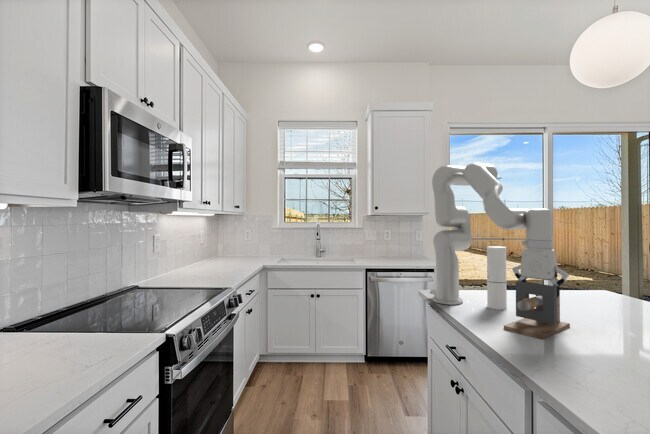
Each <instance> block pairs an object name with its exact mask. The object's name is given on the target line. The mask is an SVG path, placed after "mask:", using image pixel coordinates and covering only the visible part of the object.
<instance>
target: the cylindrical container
mask: <svg viewBox="0 0 650 434" xmlns="http://www.w3.org/2000/svg"><path fill="white" fill-rule="evenodd" d="M486 260H487V261H486V263H487V264H486V270H487V271H486V279H487V280H486V282H487V283H486V285H487V288H486V293H487V295H486V298H487V299H486V302H487V304H486V307H487V308H489V309H491V310H492V309H493V310H498V311H499V310H501V311H504V310H507V307H508V306H507V305H508V304H507V300H508V299H507V246H500V245H498V246H497V245H495V246H494V245H492V246H491V245H490V246H486Z"/></svg>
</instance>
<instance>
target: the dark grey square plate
mask: <svg viewBox="0 0 650 434" xmlns="http://www.w3.org/2000/svg"><path fill="white" fill-rule="evenodd" d="M530 295H534V296H536V295H538V296H542V310H541V309H536V307H535V308H534V309H532V310H526V311H521V310H519V309H518V307H517V303H518V302H519V301H522V300H523V299H525V298H530ZM515 317H518V318H519V317H520V318H521V319H524V318H527V319H531V320H535V321H540V322H544V323H549V324H553V325H555V324H557V286H553V285H548V284H543V283H535V282H530V281H529V282H528V281H527V282H522V281H519V280H517V281H515Z"/></svg>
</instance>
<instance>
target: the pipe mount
mask: <svg viewBox="0 0 650 434" xmlns="http://www.w3.org/2000/svg"><path fill="white" fill-rule="evenodd" d="M560 299H561V296H560V295H559V296H558V298H557V324H555V325H553V324H549V323H544V322H540V321H535V320H531V319H527V318H521V319H518V320H515V321H512V322H510V323H507V324H504V325H503V330H506V331H510V332H513V333H517V334H520V335H525V336H527V337H528V336H529V337H531V338H535V339H540V340H545V339H547V338H549V337H551V336H553V335H555V334H556V335H557V334H558V333H560V332H562V331H565V330H566V328H567V329H570V328H571V324H570V323H569V322H565V321H561V308H560V306H561V301H560ZM517 307H518V309H519V310H521V311H526V310H532V309H534V308H536V309H541V310H542V296H538V295H535V296H533V297H529V298H525V299H523V300H522V301H519V302H518V303H517ZM564 329H565V330H564Z"/></svg>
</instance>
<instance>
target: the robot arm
mask: <svg viewBox="0 0 650 434" xmlns="http://www.w3.org/2000/svg"><path fill="white" fill-rule="evenodd" d="M431 185H432V187H431V188H432V190H433V197H434V214H435V222H436V224H437V225H438V226H439V227H442V228H452V229H444V230H440V231H438V232H437V233H435V235H434V236H433V247H434V252H435V287H436V288H431V289H430V291H429V294H431V295H434V296H433V297H432V301H433V302H434V303H437V304H439V305H440V304H442V305H451V306H452V305H453V306H455V305H456V306H457V305H461V304H463V303H464V300H463V299H462V298H461V297H460V282H459V281H460V278H459V277H460V271H459V269H460V265H459V263H460V262H459V258H458V255H457V254H456V252H460V251H466V250H468V249H469V248H470V247H471V244H472V227H471V225H472V224H471V216H470V215H471V214H470V213H469V210H468V209H467V208H465V207H464V206H461V205H456V203H455V201H456V200H455V193H454V191H453V189H452V188H451V186H463V187H464V186H470V187H471V188H472V189H473V190H474V191H475V192H476V193H477V194H478V196H479V197H480V198H481V199H482V206H483V210H484V212H485V214H486V215H487V216H488V218H489V219H490V220H491V221H492V223H493V224H495V225H496V226H497V227H498V228H500V229H502V230H508V231H511V230H525V240H522V241H521V243H522V245H524V246H525V247H526V248H523V250H522V253H521V259H520V264H519V265H516V266H514V267H512V272H513V273H514V276H515V277H516V279H517V280H518V281H522V282H528V280H527V279H534V280H543V281H550V283H551V284H552V286H557V298H558V296H559V295H560V294H561V292H560V291H561V290H560V288H561V286H562V285H563V284H564V283H565V282H567V280H568V278H569V276H570V274H569V273H568V272H566V271H565V270H562V269H561V268H560V267H558V263H557V262H558V261H557V255H556V251H555V249H553V213H552V211H551V209H550V208H512V207H511V208H510V207H508V206H507V205H506V204H505V203H504V202H503V201H502V200H501V198H500V197H499V196H500V195H501V193H502V192H503V189H504V187H503V185H502V183H501V182H500V181H499V180H498V169H496V167H495V166H494V165H493V164H491V163H482V162H472V163H469V164H467V165H465V166H464V165H454V164H446V165H443V166H440V167H438V168H436V170H435V171H434V173H433V175H432V180H431ZM519 270H520V271H519ZM558 274H559V275H560V276H561V278H560V279H558Z"/></svg>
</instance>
